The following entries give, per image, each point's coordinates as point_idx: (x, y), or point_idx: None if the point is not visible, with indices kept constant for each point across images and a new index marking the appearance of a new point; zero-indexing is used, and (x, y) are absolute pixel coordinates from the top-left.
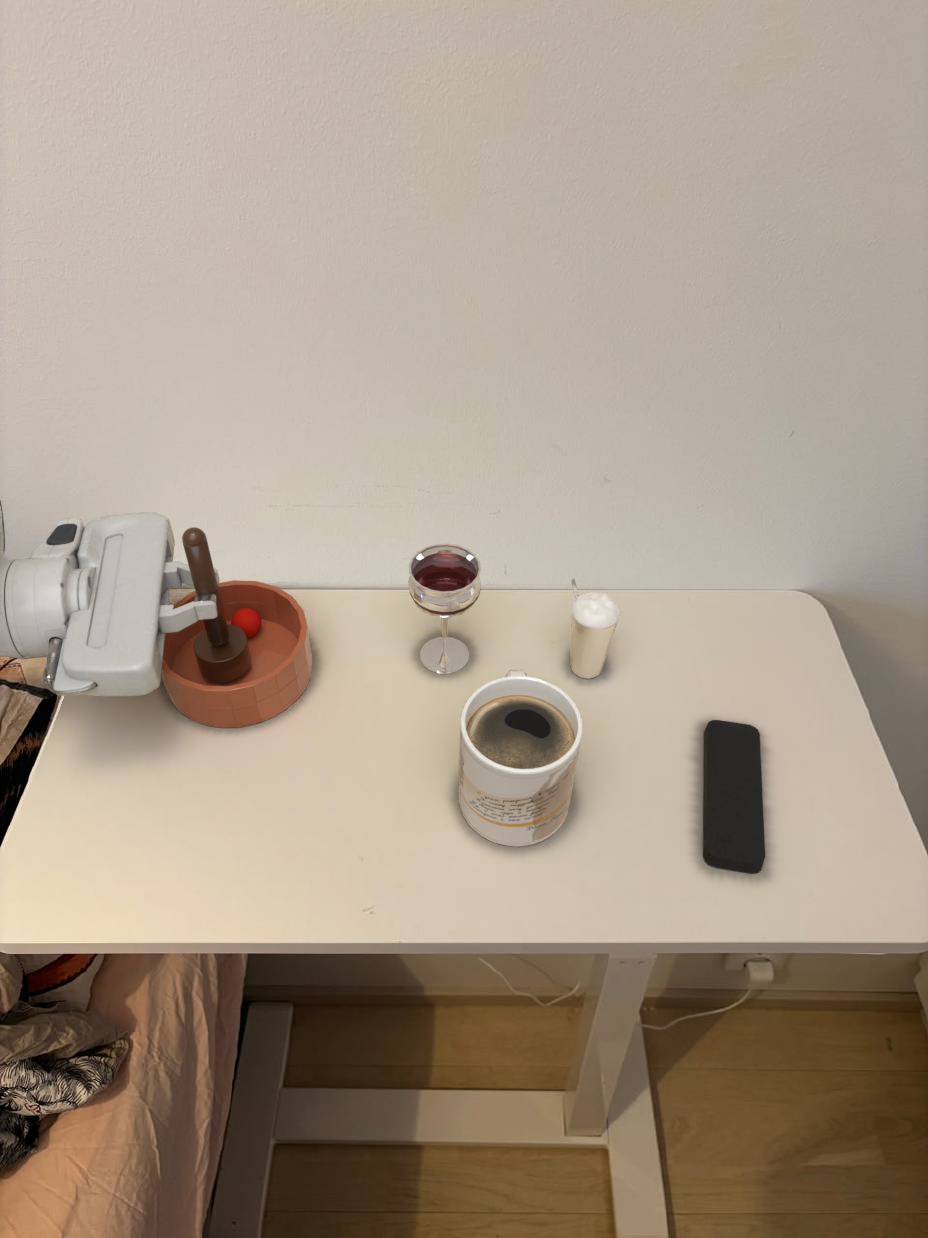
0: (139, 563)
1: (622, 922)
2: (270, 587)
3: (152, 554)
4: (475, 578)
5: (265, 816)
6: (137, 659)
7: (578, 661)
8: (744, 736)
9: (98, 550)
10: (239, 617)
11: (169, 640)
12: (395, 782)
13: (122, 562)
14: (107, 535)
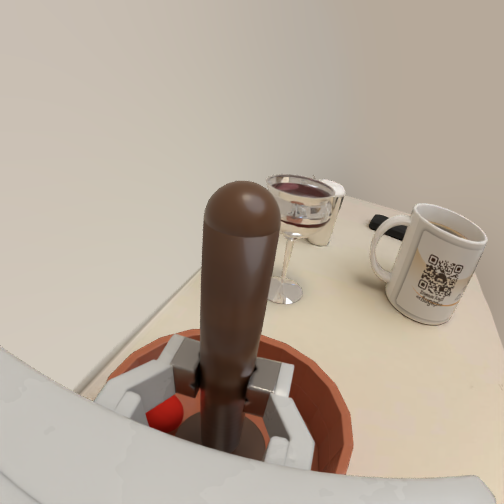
0: (71, 453)
1: (477, 289)
2: (156, 343)
3: (60, 409)
4: (320, 182)
5: (441, 455)
6: (479, 499)
7: (328, 232)
8: (384, 217)
9: None
10: (163, 408)
11: None
12: (409, 354)
13: (36, 487)
14: None
